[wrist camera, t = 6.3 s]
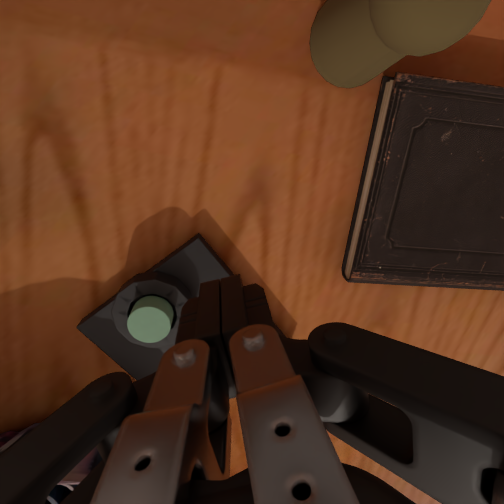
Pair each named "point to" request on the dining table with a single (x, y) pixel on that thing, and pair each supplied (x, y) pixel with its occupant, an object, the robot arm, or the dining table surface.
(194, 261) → the dark grey button base
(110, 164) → the dining table surface
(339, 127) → the dining table surface
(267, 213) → the dining table surface
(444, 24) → the cork
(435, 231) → the hardcover book
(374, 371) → the robot arm
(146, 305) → the tare button
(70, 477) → the decorative bowl
